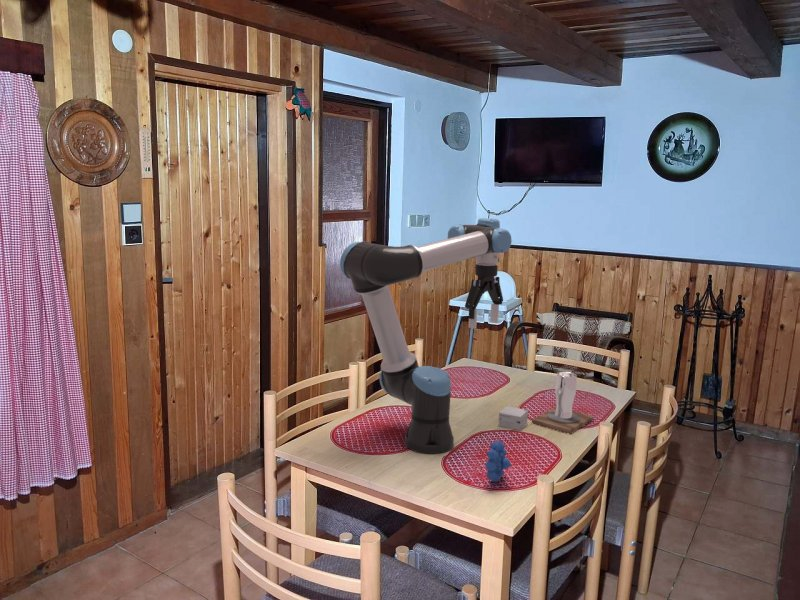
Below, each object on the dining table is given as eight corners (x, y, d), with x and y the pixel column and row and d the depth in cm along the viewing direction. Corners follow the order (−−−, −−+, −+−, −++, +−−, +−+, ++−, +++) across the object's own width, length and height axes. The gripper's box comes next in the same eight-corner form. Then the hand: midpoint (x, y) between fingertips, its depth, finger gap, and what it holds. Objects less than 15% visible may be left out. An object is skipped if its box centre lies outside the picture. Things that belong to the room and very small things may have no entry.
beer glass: (572, 413, 230) (575, 372, 227) (575, 420, 223) (578, 377, 220) (551, 412, 231) (554, 370, 228) (554, 419, 224) (557, 376, 221)
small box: (497, 426, 222) (498, 411, 221) (505, 419, 228) (506, 405, 228) (519, 431, 218) (520, 416, 217) (527, 424, 225) (528, 409, 224)
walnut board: (569, 434, 216) (570, 428, 216) (532, 423, 225) (532, 417, 225) (593, 420, 230) (593, 414, 229) (556, 410, 238) (557, 405, 238)
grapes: (503, 494, 173) (505, 451, 171) (478, 488, 176) (481, 445, 174) (516, 477, 183) (519, 436, 181) (493, 472, 186) (495, 431, 184)
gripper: (475, 268, 213) (472, 332, 217) (515, 262, 232) (511, 321, 235) (456, 265, 218) (453, 328, 221) (496, 260, 236) (493, 318, 240)
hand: (483, 325), depth 228 cm, fingers open, 13 cm apart
